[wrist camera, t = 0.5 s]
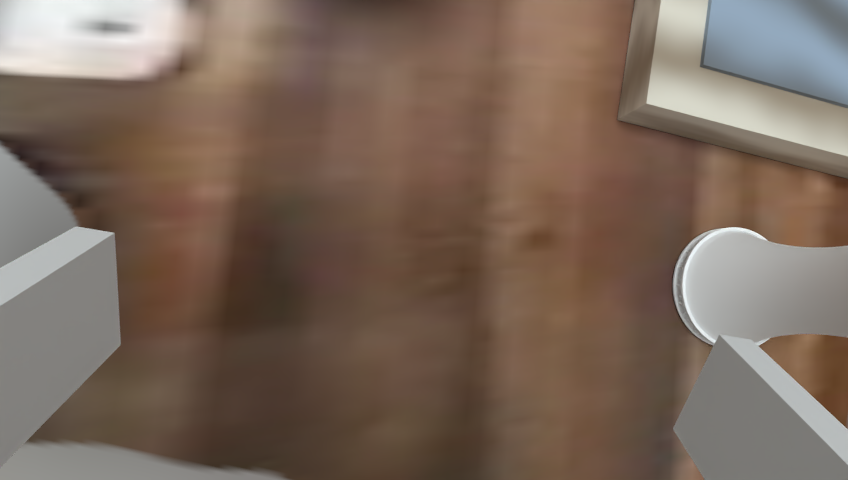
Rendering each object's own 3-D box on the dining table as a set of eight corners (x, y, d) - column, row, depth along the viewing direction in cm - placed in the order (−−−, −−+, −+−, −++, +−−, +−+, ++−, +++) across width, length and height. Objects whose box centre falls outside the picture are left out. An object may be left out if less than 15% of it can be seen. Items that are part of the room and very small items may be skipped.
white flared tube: (723, 204, 32) (893, 173, 22) (797, 289, 32) (996, 295, 23) (648, 286, 31) (795, 290, 21) (727, 372, 31) (906, 417, 21)
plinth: (857, 181, 34) (912, 171, 30) (617, 119, 31) (649, 101, 28) (880, -61, 36) (934, -95, 32) (655, -139, 33) (690, -185, 30)
